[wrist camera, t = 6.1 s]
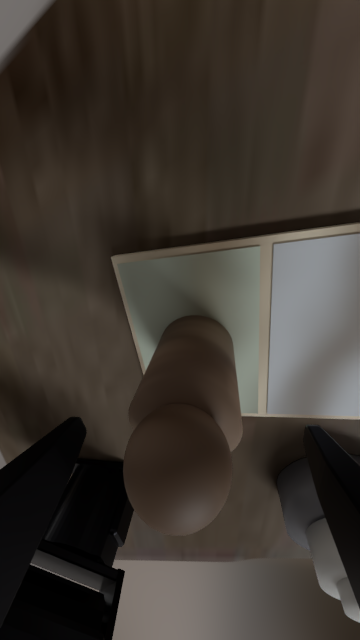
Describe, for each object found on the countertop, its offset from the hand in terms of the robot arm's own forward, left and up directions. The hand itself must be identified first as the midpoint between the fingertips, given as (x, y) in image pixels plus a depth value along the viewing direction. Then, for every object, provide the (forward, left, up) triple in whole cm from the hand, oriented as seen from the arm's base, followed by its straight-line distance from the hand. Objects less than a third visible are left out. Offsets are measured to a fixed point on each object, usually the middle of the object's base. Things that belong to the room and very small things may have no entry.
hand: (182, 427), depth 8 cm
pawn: (0, 0, -6) cm, 6 cm away
